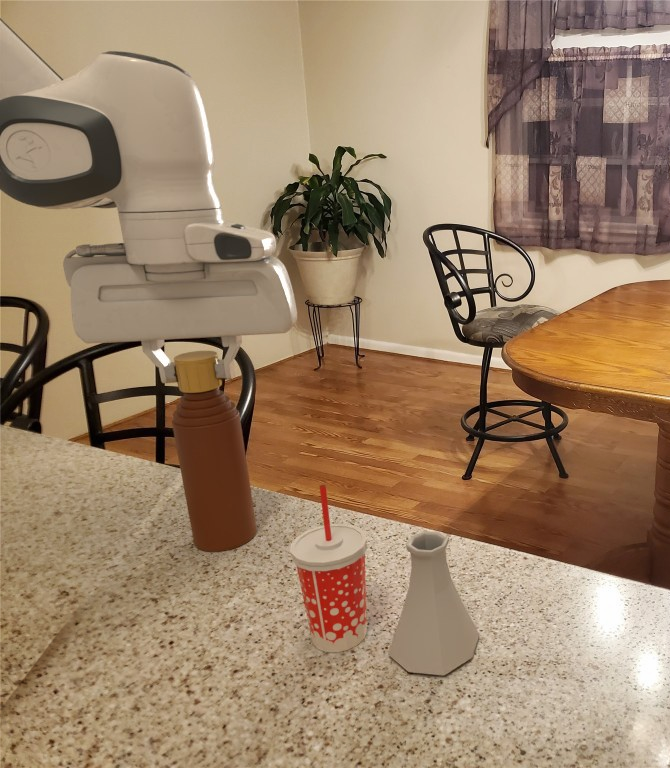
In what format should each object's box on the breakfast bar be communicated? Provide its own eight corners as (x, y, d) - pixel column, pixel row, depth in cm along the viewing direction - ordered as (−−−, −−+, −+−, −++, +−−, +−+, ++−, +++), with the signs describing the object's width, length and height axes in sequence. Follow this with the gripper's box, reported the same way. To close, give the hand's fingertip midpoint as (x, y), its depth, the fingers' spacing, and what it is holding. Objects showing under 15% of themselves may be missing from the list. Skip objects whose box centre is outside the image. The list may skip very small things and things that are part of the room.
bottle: (186, 554, 71) (151, 371, 65) (203, 524, 78) (173, 354, 71) (249, 548, 72) (221, 367, 66) (262, 519, 78) (237, 350, 72)
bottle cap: (173, 394, 68) (168, 362, 67) (186, 382, 71) (181, 351, 70) (216, 391, 68) (211, 359, 67) (226, 379, 72) (221, 349, 71)
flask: (372, 660, 55) (361, 552, 52) (423, 611, 61) (416, 511, 58) (447, 689, 52) (440, 575, 49) (494, 634, 58) (490, 529, 55)
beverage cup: (388, 618, 61) (375, 473, 56) (354, 664, 55) (337, 508, 51) (326, 607, 62) (309, 466, 58) (288, 652, 57) (266, 499, 52)
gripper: (41, 249, 61) (75, 396, 65) (279, 240, 63) (297, 382, 68) (74, 241, 67) (103, 377, 71) (290, 234, 69) (306, 365, 74)
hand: (199, 379), depth 69 cm, fingers closed on bottle cap, 4 cm apart
